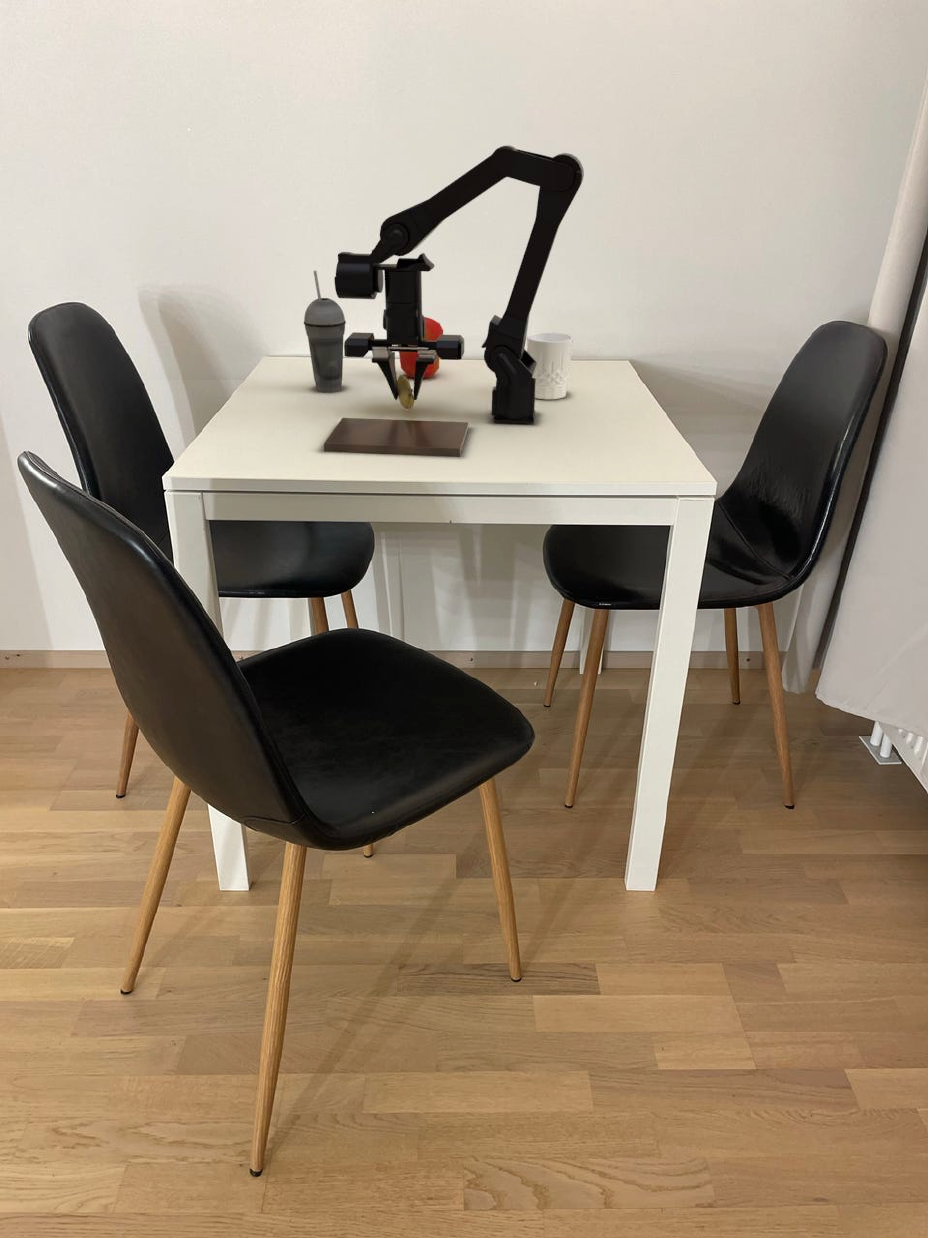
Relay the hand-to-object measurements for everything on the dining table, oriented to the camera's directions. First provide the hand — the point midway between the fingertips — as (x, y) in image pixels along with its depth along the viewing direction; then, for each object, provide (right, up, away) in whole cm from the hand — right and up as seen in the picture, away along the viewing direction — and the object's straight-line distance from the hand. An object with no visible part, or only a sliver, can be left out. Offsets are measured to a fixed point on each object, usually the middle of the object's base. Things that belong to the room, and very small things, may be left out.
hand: (406, 399), depth 152 cm
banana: (0, -1, +1) cm, 1 cm away
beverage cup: (-15, +5, +14) cm, 21 cm away
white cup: (+24, +3, +12) cm, 27 cm away
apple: (+1, +9, +22) cm, 24 cm away
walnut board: (0, -9, -12) cm, 15 cm away
